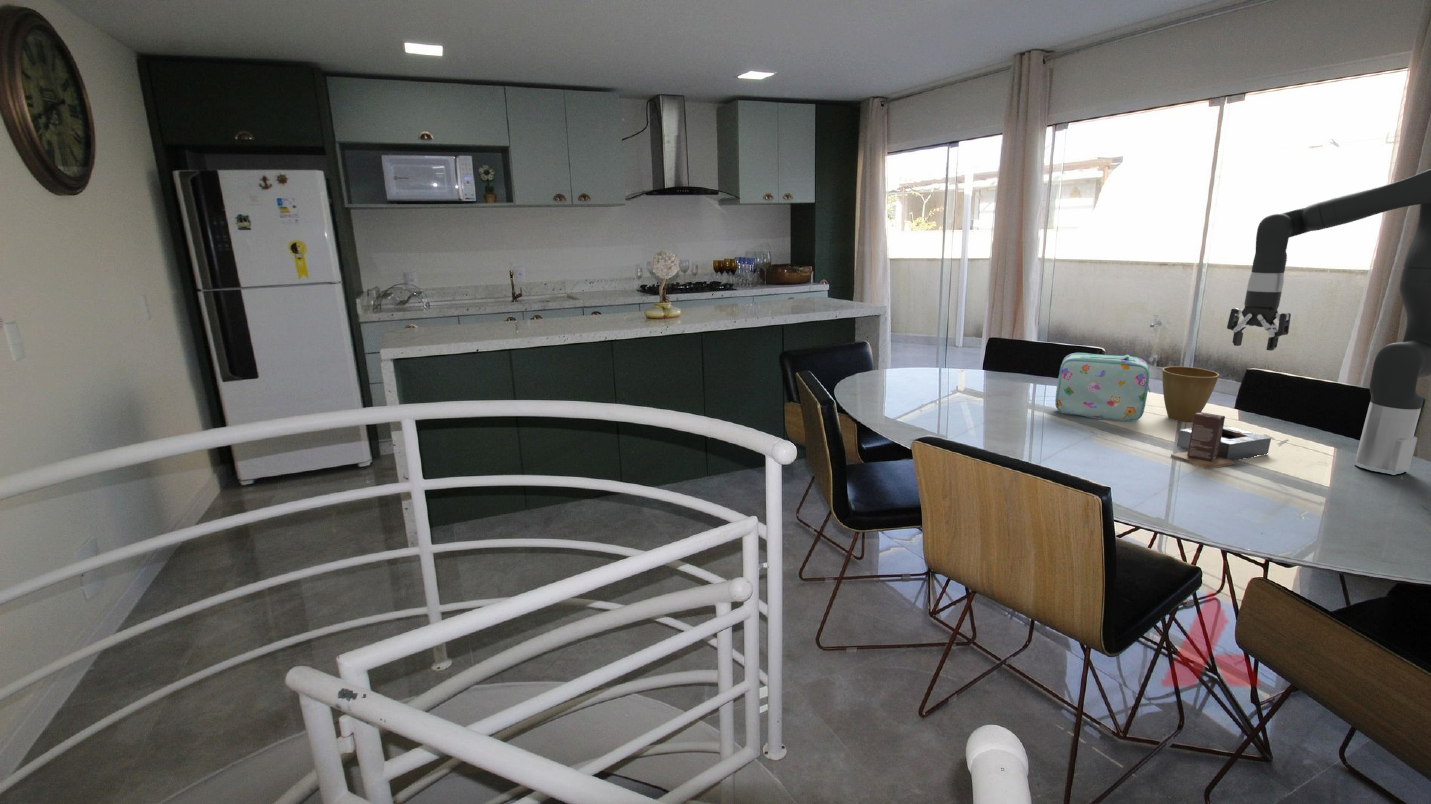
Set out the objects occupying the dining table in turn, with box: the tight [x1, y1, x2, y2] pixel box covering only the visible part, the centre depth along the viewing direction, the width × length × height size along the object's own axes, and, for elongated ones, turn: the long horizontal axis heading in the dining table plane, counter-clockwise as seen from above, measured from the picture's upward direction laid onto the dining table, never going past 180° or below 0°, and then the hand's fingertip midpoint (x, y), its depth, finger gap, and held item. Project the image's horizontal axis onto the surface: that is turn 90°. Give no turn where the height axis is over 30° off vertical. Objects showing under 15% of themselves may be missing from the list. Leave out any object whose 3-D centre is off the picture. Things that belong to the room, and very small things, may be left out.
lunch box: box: [1054, 352, 1151, 422], centre depth 219 cm, size 27×10×21 cm, turn 59°
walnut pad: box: [1170, 451, 1235, 470], centre depth 180 cm, size 10×10×1 cm
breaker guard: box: [1176, 424, 1272, 462], centre depth 187 cm, size 14×16×5 cm
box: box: [1187, 411, 1226, 461], centre depth 179 cm, size 6×4×12 cm
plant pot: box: [1162, 365, 1220, 423], centre depth 216 cm, size 15×15×16 cm
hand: (1253, 347), depth 187 cm, fingers open, 8 cm apart
